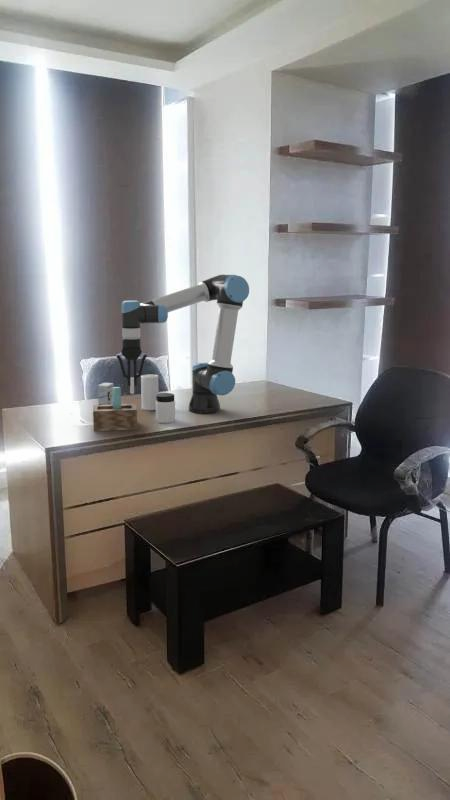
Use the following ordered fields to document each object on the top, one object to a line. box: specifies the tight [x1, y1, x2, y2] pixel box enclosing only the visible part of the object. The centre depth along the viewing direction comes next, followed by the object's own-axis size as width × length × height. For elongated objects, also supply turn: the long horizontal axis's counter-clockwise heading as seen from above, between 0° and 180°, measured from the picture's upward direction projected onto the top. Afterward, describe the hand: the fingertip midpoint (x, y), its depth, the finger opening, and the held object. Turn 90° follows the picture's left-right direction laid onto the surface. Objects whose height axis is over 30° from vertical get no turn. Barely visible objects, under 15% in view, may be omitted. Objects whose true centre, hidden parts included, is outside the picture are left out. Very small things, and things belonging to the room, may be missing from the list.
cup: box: [140, 373, 159, 411], centre depth 297 cm, size 8×8×16 cm
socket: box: [92, 403, 138, 432], centre depth 263 cm, size 18×12×8 cm, turn 102°
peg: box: [113, 386, 122, 409], centre depth 262 cm, size 3×3×16 cm
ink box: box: [97, 382, 114, 405], centre depth 297 cm, size 9×5×12 cm, turn 168°
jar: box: [155, 392, 176, 424], centre depth 273 cm, size 9×8×12 cm
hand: (132, 393), depth 262 cm, fingers closed
